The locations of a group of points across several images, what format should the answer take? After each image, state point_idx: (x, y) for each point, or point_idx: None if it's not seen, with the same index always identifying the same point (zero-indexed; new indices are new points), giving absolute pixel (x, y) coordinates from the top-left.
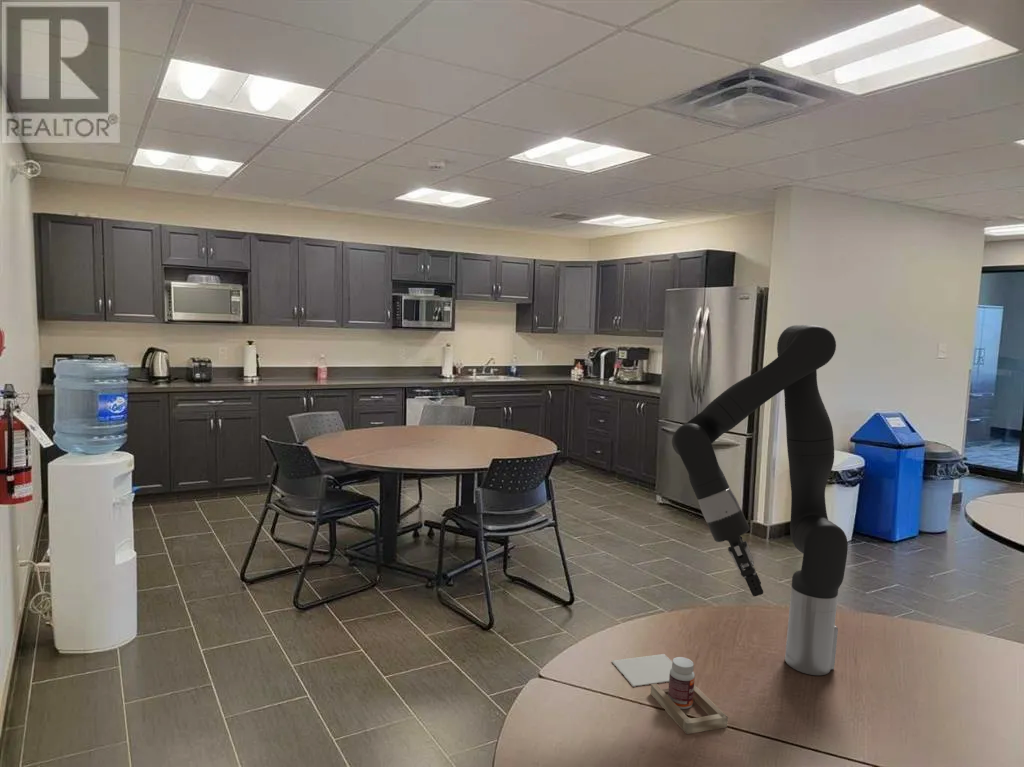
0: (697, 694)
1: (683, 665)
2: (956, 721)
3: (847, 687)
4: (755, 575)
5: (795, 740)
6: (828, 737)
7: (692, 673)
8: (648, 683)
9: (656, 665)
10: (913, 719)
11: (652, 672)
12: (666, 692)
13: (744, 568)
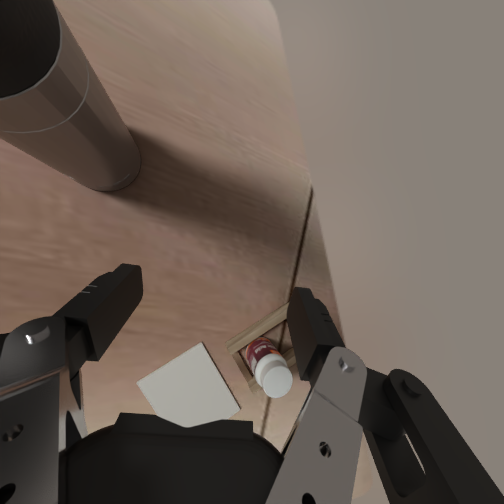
0: (259, 335)
1: (288, 380)
2: (216, 17)
3: (163, 122)
4: (332, 346)
5: (297, 232)
6: (284, 194)
7: (276, 359)
8: (230, 392)
9: (178, 389)
10: (225, 73)
11: (200, 392)
12: (247, 369)
13: (77, 364)
